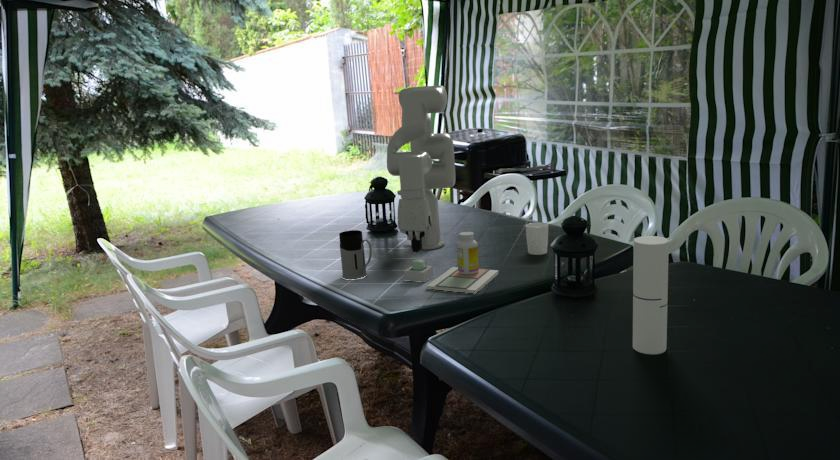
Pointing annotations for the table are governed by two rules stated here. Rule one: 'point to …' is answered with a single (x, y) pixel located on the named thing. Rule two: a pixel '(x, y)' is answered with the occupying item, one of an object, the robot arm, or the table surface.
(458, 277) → the picture board
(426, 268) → the button box
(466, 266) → the supplement bottle
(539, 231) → the white cup
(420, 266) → the button
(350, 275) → the grey and black mug
